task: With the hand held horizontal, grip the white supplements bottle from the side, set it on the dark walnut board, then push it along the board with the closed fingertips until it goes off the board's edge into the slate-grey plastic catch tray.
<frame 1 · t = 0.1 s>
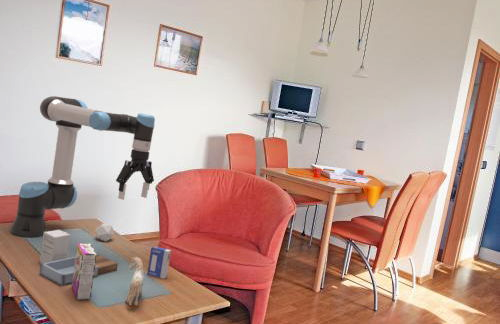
hand: (132, 198, 196), 28 cm above the table, tool pointing down, fingers open, 13 cm apart
walkman: (156, 276, 188), on the table
candy bar box: (80, 293, 159), on the table
unicorn figurine: (125, 298, 162), on the table
catch tray: (68, 275, 172), on the table
die: (103, 240, 221), on the table
supplement box: (53, 263, 181), on the table
walnut board: (97, 268, 184), on the table
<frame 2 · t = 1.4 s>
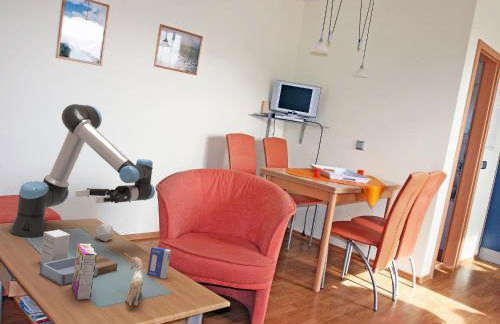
hand: (85, 196, 189), 26 cm above the table, tool horizontal, fingers open, 13 cm apart
nothing on the table moved.
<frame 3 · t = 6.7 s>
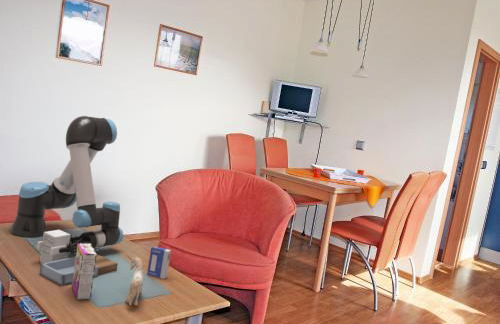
hand: (44, 248, 176), 7 cm above the table, tool horizontal, fingers closed on supplement box, 7 cm apart
supplement box: (53, 263, 181), on the table, touching gripper
everything else where it was.
when the fingers open (11 cm above the table, at t = 10.9 s): supplement box drops 1 cm, resting on walnut board.
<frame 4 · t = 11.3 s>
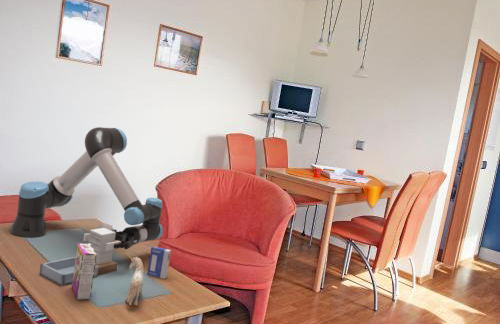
hand: (95, 242, 180), 11 cm above the table, tool horizontal, fingers open, 12 cm apart
supplement box: (98, 261, 184), point 3 cm above the table, touching walnut board
everything else where it was.
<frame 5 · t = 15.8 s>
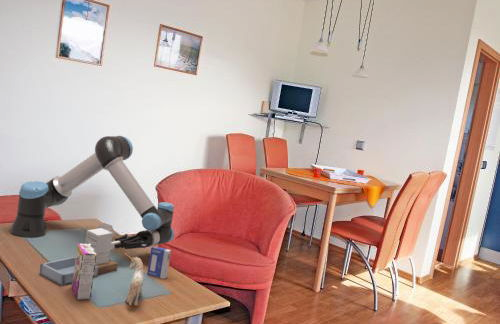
hand: (107, 246, 185), 9 cm above the table, tool horizontal, fingers closed
supplement box: (95, 261, 183), point 3 cm above the table, touching gripper
everything else where it was.
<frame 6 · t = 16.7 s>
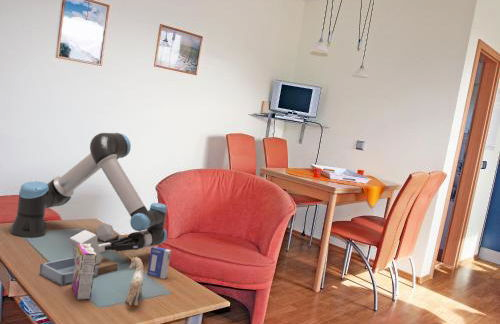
hand: (97, 248, 181), 9 cm above the table, tool horizontal, fingers closed
supplement box: (88, 263, 180), point 3 cm above the table, touching gripper, walnut board
everything else where it was.
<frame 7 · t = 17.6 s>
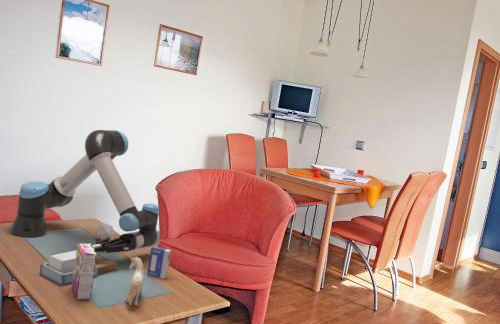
hand: (86, 250, 177), 9 cm above the table, tool horizontal, fingers closed
supplement box: (82, 261, 178), point 4 cm above the table, touching catch tray, gripper
everything else where it was.
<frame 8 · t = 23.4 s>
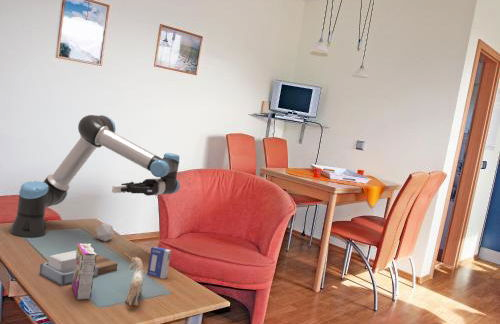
hand: (113, 189, 187), 32 cm above the table, tool horizontal, fingers closed
supplement box: (82, 261, 177), point 4 cm above the table, touching catch tray
everything else where it was.
at the end: supplement box inside the target area (6.5 cm from its centre), point 4.2 cm above the table; the gripper is holding nothing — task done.
